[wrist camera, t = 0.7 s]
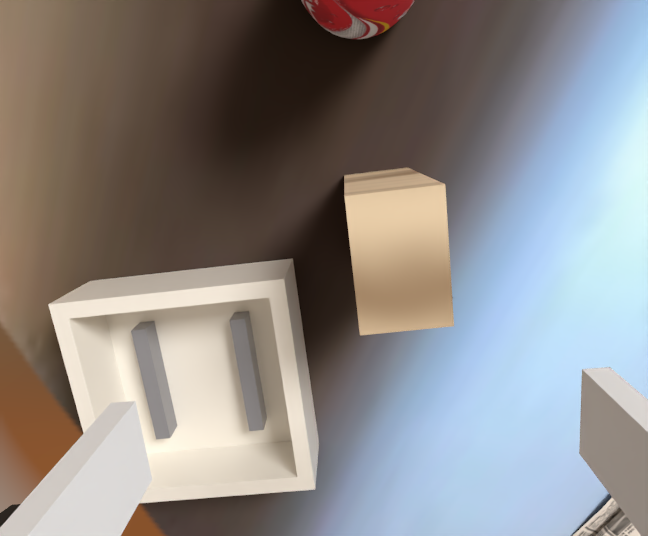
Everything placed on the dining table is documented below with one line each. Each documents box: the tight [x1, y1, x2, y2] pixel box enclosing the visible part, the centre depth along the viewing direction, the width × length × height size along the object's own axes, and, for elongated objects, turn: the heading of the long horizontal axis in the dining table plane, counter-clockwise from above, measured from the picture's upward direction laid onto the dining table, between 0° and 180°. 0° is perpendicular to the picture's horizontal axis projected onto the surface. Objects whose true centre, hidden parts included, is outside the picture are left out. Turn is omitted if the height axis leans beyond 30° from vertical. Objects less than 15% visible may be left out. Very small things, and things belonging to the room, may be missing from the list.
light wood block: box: [344, 168, 454, 335], centre depth 26 cm, size 6×4×12 cm, turn 7°
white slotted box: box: [48, 258, 319, 503], centre depth 33 cm, size 14×14×5 cm
